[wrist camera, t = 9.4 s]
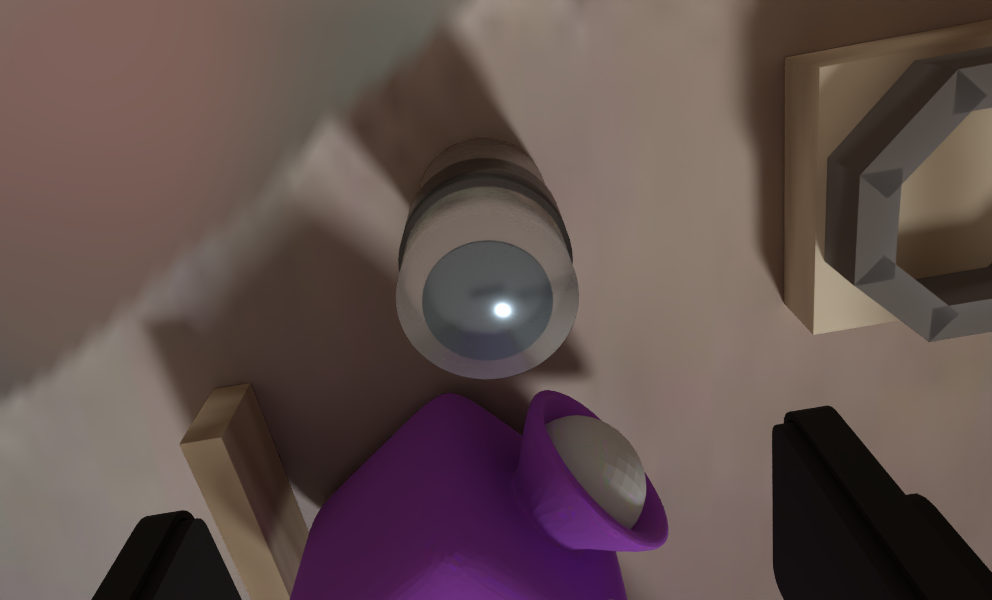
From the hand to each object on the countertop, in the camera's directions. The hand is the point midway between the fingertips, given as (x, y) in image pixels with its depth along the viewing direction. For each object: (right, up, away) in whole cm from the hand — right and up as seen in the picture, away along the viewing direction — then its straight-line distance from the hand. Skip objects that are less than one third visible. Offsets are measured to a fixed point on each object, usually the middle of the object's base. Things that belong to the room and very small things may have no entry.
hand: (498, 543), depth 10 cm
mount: (+15, +8, +14) cm, 22 cm away
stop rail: (-9, -6, +20) cm, 23 cm away
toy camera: (-1, -4, +20) cm, 20 cm away
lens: (-1, +7, +14) cm, 16 cm away
